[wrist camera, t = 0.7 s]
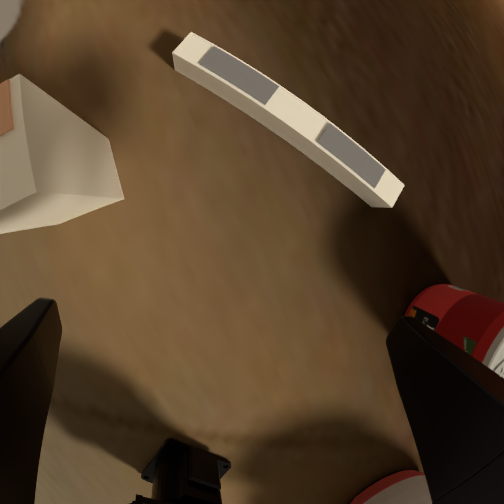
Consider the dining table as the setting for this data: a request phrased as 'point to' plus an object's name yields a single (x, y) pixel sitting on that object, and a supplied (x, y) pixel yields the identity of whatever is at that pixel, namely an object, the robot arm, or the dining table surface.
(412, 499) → the citrus juicer
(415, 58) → the dining table surface
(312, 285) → the dining table surface
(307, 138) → the rail
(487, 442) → the robot arm
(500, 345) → the canned food
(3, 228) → the carton
